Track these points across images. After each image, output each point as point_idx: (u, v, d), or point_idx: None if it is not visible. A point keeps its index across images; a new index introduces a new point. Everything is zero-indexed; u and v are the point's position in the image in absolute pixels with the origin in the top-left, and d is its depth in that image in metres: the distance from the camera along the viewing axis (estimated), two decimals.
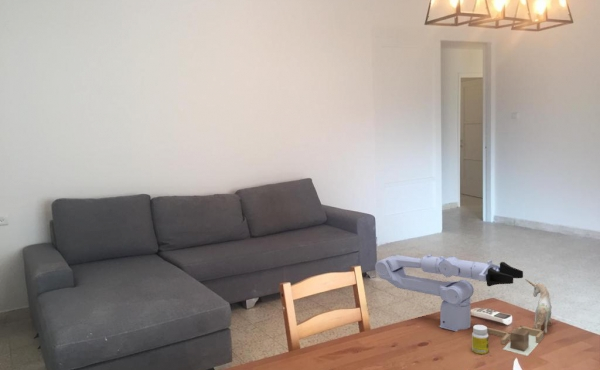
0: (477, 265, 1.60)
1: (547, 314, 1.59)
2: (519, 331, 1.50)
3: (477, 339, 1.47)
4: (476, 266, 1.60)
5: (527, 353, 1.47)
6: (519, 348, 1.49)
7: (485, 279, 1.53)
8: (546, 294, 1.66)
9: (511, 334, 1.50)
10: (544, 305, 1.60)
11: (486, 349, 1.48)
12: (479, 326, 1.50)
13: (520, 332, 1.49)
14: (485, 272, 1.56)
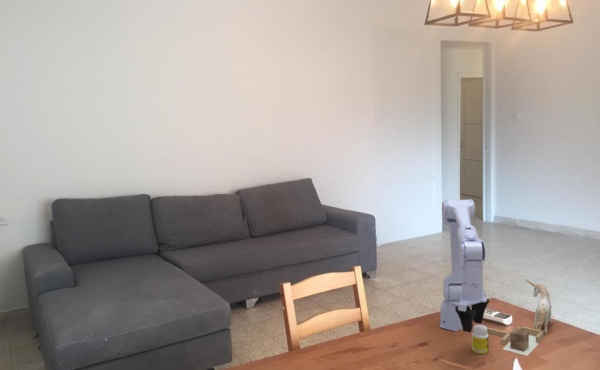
0: (477, 290, 1.40)
1: (547, 314, 1.59)
2: (519, 331, 1.50)
3: (477, 339, 1.47)
4: (476, 289, 1.40)
5: (527, 353, 1.47)
6: (519, 348, 1.49)
7: None
8: (546, 294, 1.66)
9: (511, 334, 1.50)
10: (544, 305, 1.60)
11: (486, 349, 1.48)
12: (479, 326, 1.50)
13: (520, 332, 1.49)
14: None
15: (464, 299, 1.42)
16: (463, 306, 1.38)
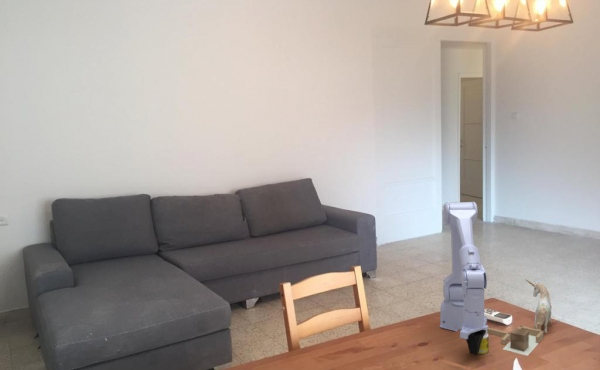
0: (478, 317, 1.42)
1: (547, 314, 1.59)
2: (519, 331, 1.50)
3: None
4: (477, 317, 1.42)
5: (527, 353, 1.47)
6: (519, 348, 1.49)
7: None
8: (546, 294, 1.66)
9: (511, 334, 1.50)
10: (544, 305, 1.60)
11: (486, 349, 1.48)
12: None
13: (520, 332, 1.49)
14: None
15: (466, 326, 1.44)
16: (465, 334, 1.40)
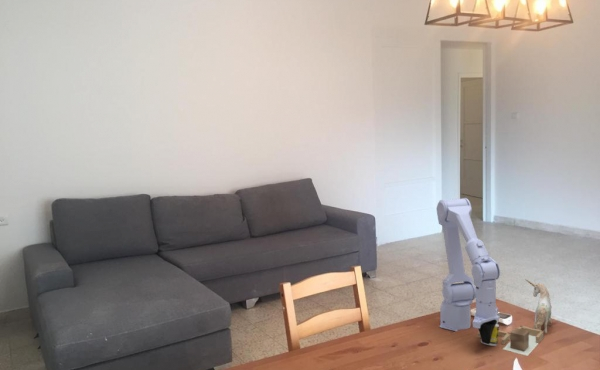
0: (490, 308, 1.48)
1: (547, 314, 1.59)
2: (519, 331, 1.50)
3: None
4: (489, 307, 1.48)
5: (527, 353, 1.47)
6: (519, 348, 1.49)
7: None
8: (546, 294, 1.66)
9: (511, 334, 1.50)
10: (544, 305, 1.60)
11: (495, 338, 1.53)
12: None
13: (520, 332, 1.49)
14: None
15: (478, 316, 1.50)
16: (477, 323, 1.46)
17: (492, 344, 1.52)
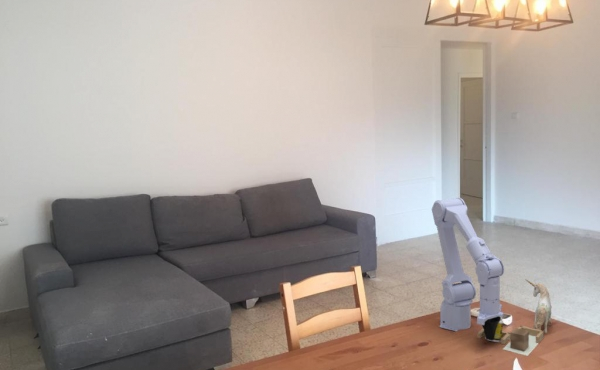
0: (494, 304, 1.51)
1: (547, 314, 1.59)
2: (519, 331, 1.50)
3: None
4: (493, 304, 1.50)
5: (527, 353, 1.47)
6: (519, 348, 1.49)
7: None
8: (546, 294, 1.66)
9: (511, 334, 1.50)
10: (544, 305, 1.60)
11: (499, 335, 1.55)
12: None
13: (520, 332, 1.49)
14: None
15: (482, 313, 1.52)
16: (482, 320, 1.48)
17: (496, 340, 1.54)
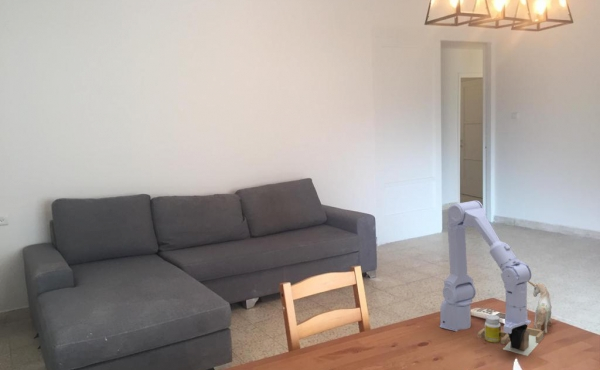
0: (521, 312, 1.44)
1: (547, 314, 1.59)
2: None
3: (490, 328, 1.54)
4: (520, 312, 1.44)
5: (527, 353, 1.47)
6: None
7: None
8: (546, 294, 1.66)
9: None
10: (544, 305, 1.60)
11: (498, 338, 1.54)
12: (492, 316, 1.56)
13: None
14: None
15: (508, 321, 1.46)
16: (508, 328, 1.41)
17: None
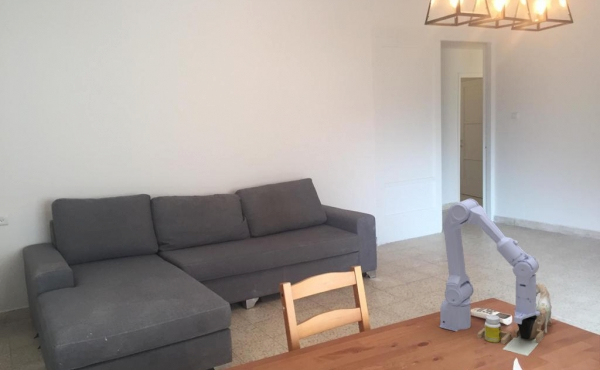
0: (531, 303, 1.50)
1: (547, 314, 1.59)
2: None
3: (490, 328, 1.54)
4: (530, 303, 1.50)
5: (527, 353, 1.47)
6: None
7: None
8: (546, 294, 1.66)
9: None
10: (544, 305, 1.60)
11: (498, 338, 1.54)
12: (492, 316, 1.56)
13: None
14: None
15: (518, 312, 1.52)
16: (519, 319, 1.47)
17: None
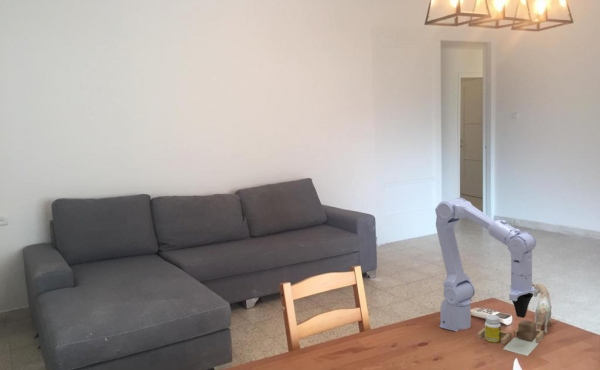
0: (527, 280, 1.46)
1: (547, 314, 1.59)
2: (526, 322, 1.56)
3: (490, 328, 1.54)
4: (526, 280, 1.46)
5: (527, 353, 1.47)
6: (527, 339, 1.54)
7: None
8: (546, 294, 1.66)
9: (519, 325, 1.56)
10: (544, 305, 1.60)
11: (498, 338, 1.54)
12: (492, 316, 1.56)
13: (527, 323, 1.55)
14: None
15: (514, 289, 1.48)
16: (514, 296, 1.43)
17: None
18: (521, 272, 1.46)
